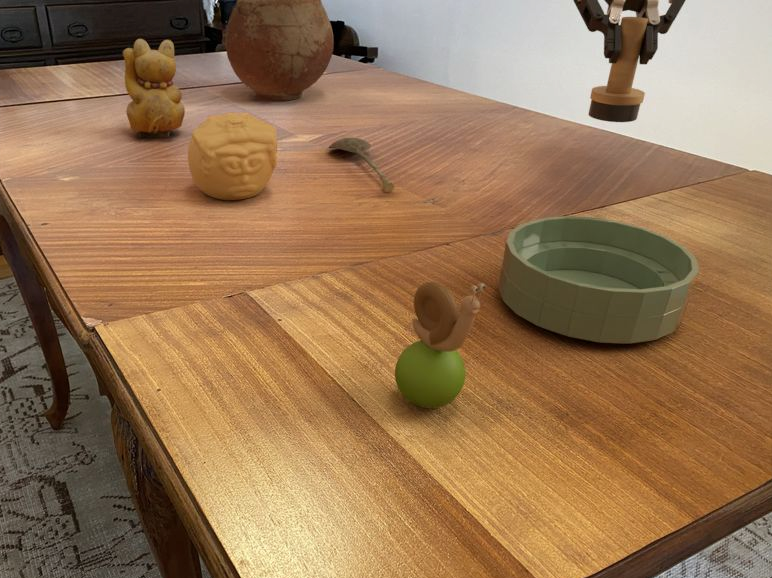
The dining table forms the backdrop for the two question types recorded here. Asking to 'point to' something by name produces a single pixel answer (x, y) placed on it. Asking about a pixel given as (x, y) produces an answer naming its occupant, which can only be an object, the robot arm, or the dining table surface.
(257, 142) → the sculpture
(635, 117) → the dish brush
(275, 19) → the jug
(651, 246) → the bowl
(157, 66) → the decorative figurine
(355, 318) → the dining table surface
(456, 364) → the snail figurine
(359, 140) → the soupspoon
